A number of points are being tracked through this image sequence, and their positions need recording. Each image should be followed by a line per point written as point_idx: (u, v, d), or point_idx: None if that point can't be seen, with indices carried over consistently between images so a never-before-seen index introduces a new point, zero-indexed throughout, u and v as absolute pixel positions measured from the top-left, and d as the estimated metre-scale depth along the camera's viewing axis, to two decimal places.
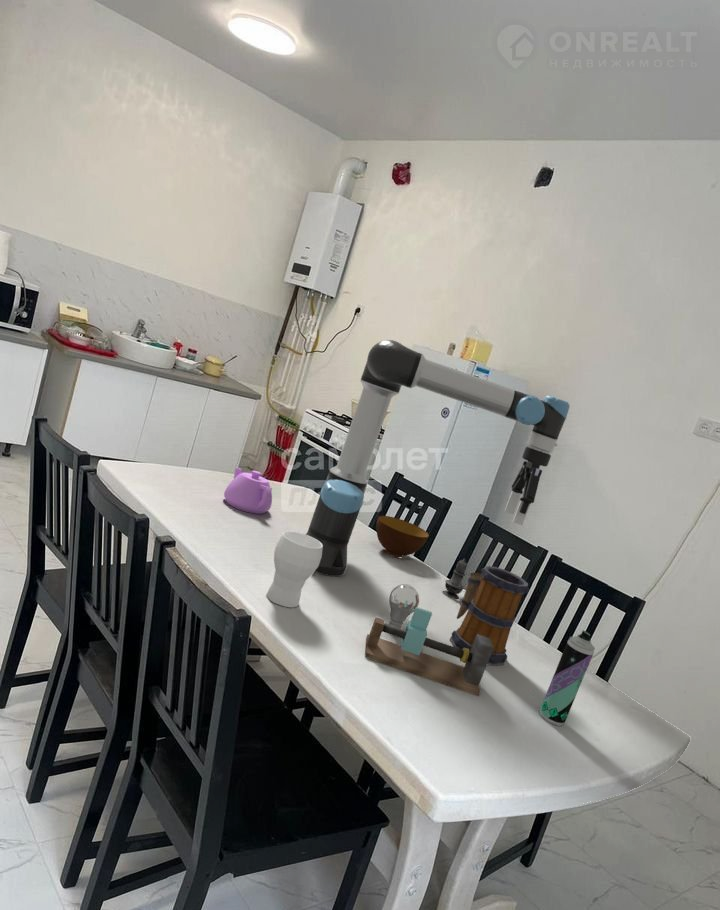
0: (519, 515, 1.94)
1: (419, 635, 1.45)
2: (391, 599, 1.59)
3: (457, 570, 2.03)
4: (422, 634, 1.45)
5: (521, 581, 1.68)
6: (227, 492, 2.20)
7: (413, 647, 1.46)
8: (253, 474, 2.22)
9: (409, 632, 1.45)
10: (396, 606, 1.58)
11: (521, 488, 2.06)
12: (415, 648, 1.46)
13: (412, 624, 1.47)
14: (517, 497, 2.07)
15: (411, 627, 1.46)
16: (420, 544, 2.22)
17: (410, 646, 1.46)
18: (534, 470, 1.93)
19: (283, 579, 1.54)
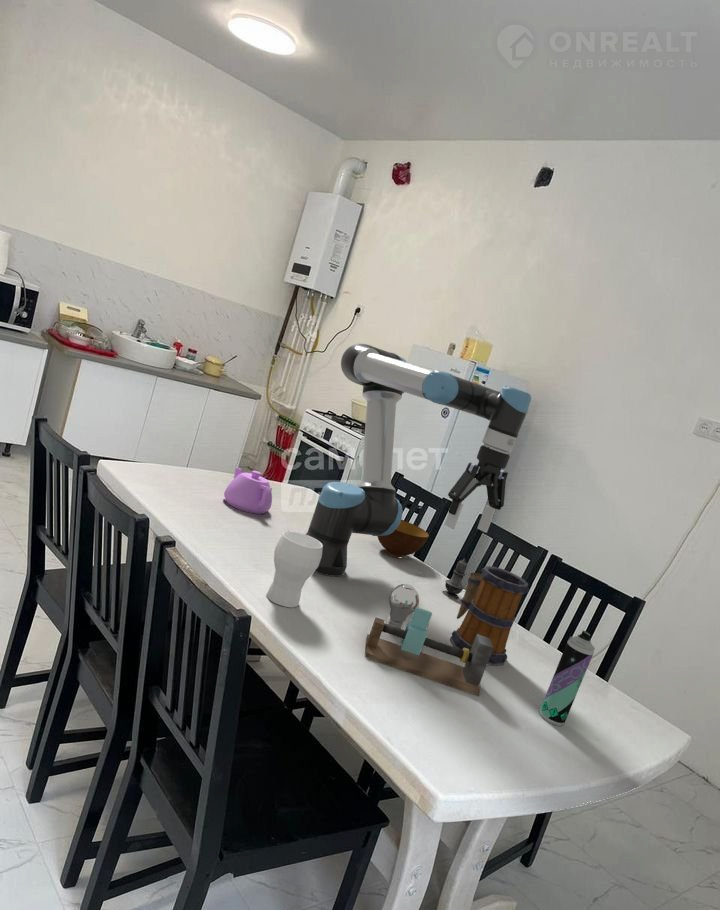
0: (450, 517, 1.68)
1: (419, 635, 1.45)
2: (391, 599, 1.59)
3: (457, 570, 2.03)
4: (422, 634, 1.45)
5: (521, 581, 1.68)
6: (227, 492, 2.20)
7: (413, 647, 1.46)
8: (253, 474, 2.22)
9: (409, 632, 1.45)
10: (396, 606, 1.58)
11: (493, 501, 1.75)
12: (415, 648, 1.46)
13: (412, 624, 1.47)
14: (490, 512, 1.76)
15: (411, 627, 1.46)
16: (420, 544, 2.22)
17: (410, 646, 1.46)
18: (468, 465, 1.66)
19: (283, 579, 1.54)
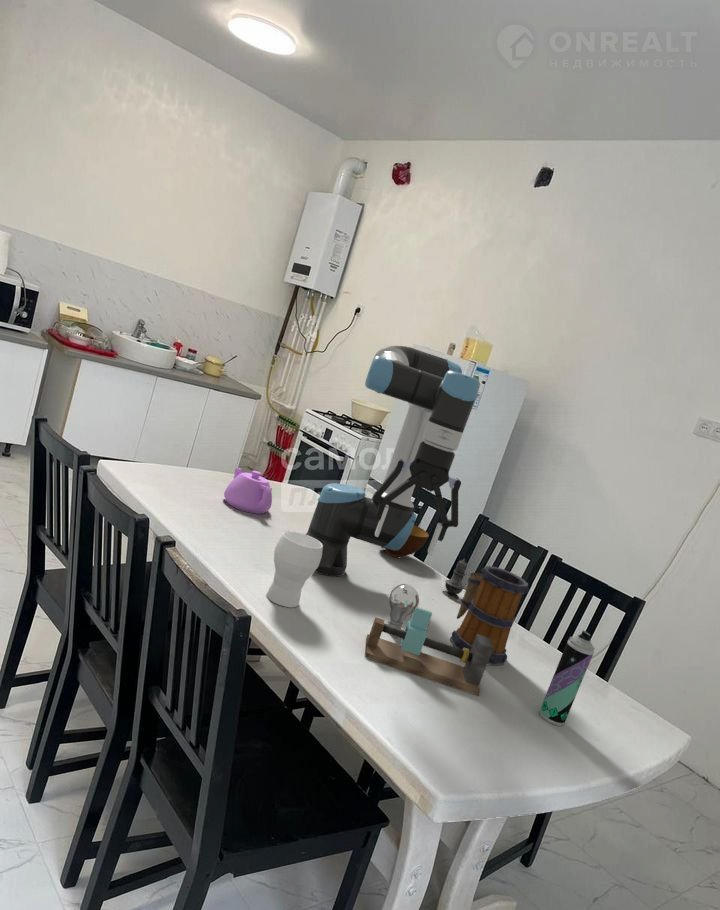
0: (378, 523, 1.45)
1: (419, 635, 1.45)
2: (391, 599, 1.59)
3: (457, 570, 2.03)
4: (422, 634, 1.45)
5: (521, 581, 1.68)
6: (227, 492, 2.20)
7: (413, 647, 1.46)
8: (253, 474, 2.22)
9: (409, 632, 1.45)
10: (396, 606, 1.58)
11: (440, 515, 1.43)
12: (415, 648, 1.46)
13: (412, 624, 1.47)
14: (436, 530, 1.44)
15: (411, 627, 1.46)
16: (420, 544, 2.22)
17: (410, 646, 1.46)
18: (397, 461, 1.44)
19: (283, 579, 1.54)
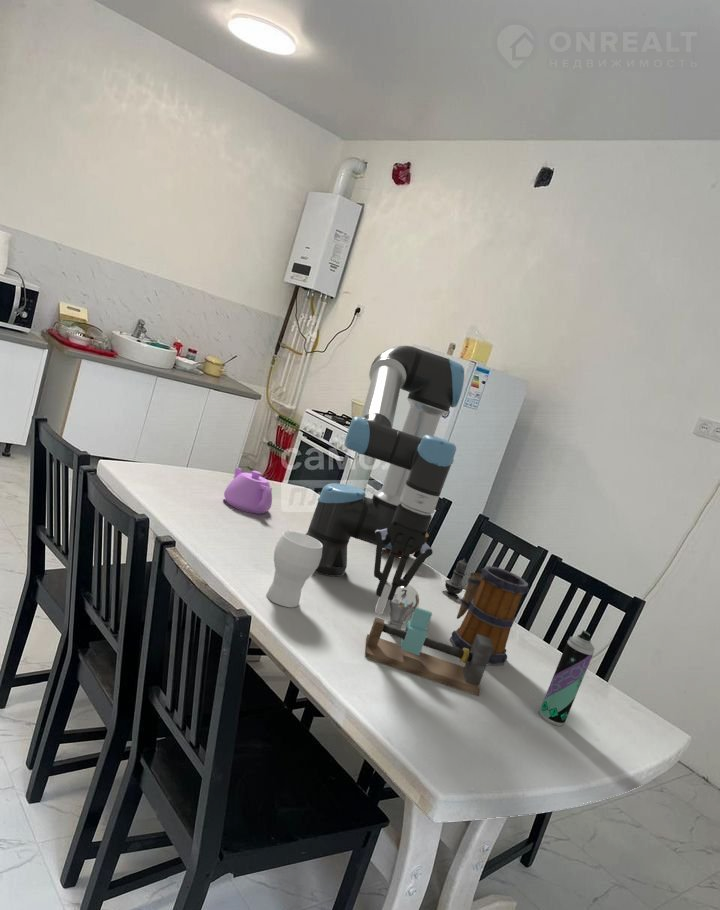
0: (378, 599, 1.47)
1: (419, 635, 1.45)
2: None
3: (457, 570, 2.03)
4: (422, 634, 1.45)
5: (521, 581, 1.68)
6: (227, 492, 2.20)
7: (413, 647, 1.46)
8: (253, 474, 2.22)
9: (409, 632, 1.45)
10: (396, 606, 1.58)
11: (395, 574, 1.45)
12: (415, 648, 1.46)
13: (412, 624, 1.47)
14: None
15: (411, 627, 1.46)
16: None
17: (410, 646, 1.46)
18: None
19: (283, 579, 1.54)
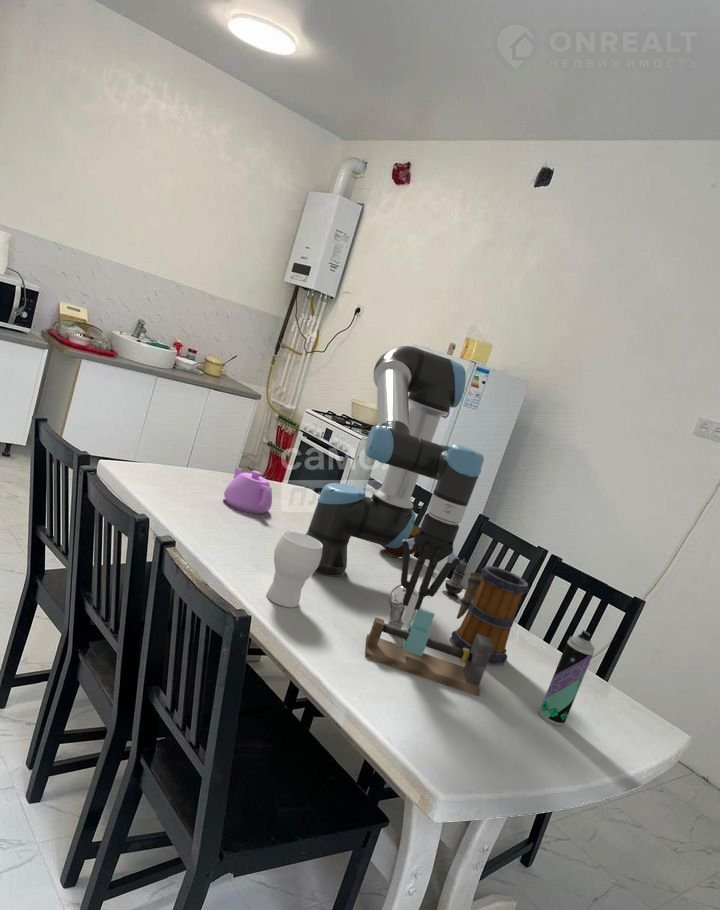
0: (405, 608, 1.47)
1: (421, 636, 1.45)
2: (391, 599, 1.59)
3: (457, 570, 2.03)
4: (425, 635, 1.45)
5: (521, 581, 1.68)
6: (227, 492, 2.20)
7: (416, 648, 1.46)
8: (253, 474, 2.22)
9: (411, 633, 1.45)
10: (396, 606, 1.58)
11: (422, 583, 1.45)
12: (417, 649, 1.46)
13: (414, 625, 1.47)
14: None
15: (413, 628, 1.46)
16: None
17: (412, 647, 1.46)
18: None
19: (283, 579, 1.54)
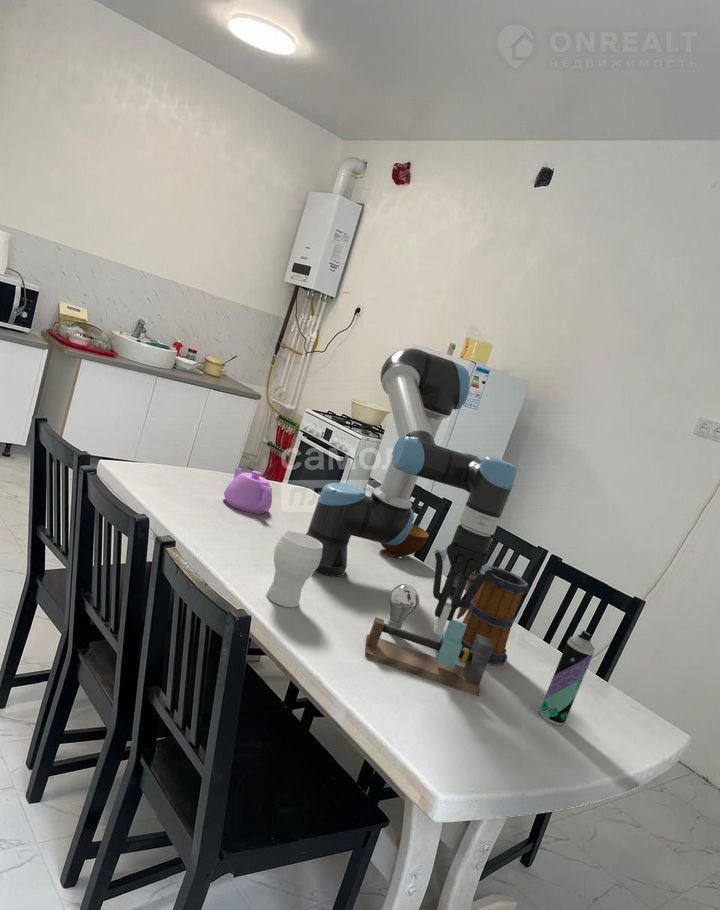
0: (437, 620, 1.47)
1: (454, 647, 1.45)
2: (391, 599, 1.59)
3: None
4: (458, 646, 1.45)
5: (521, 581, 1.68)
6: (227, 492, 2.20)
7: (448, 659, 1.46)
8: (253, 474, 2.22)
9: (444, 644, 1.45)
10: (396, 606, 1.58)
11: (455, 594, 1.45)
12: (450, 660, 1.46)
13: (447, 636, 1.47)
14: None
15: (446, 639, 1.46)
16: (420, 544, 2.22)
17: (445, 658, 1.46)
18: None
19: (283, 579, 1.54)
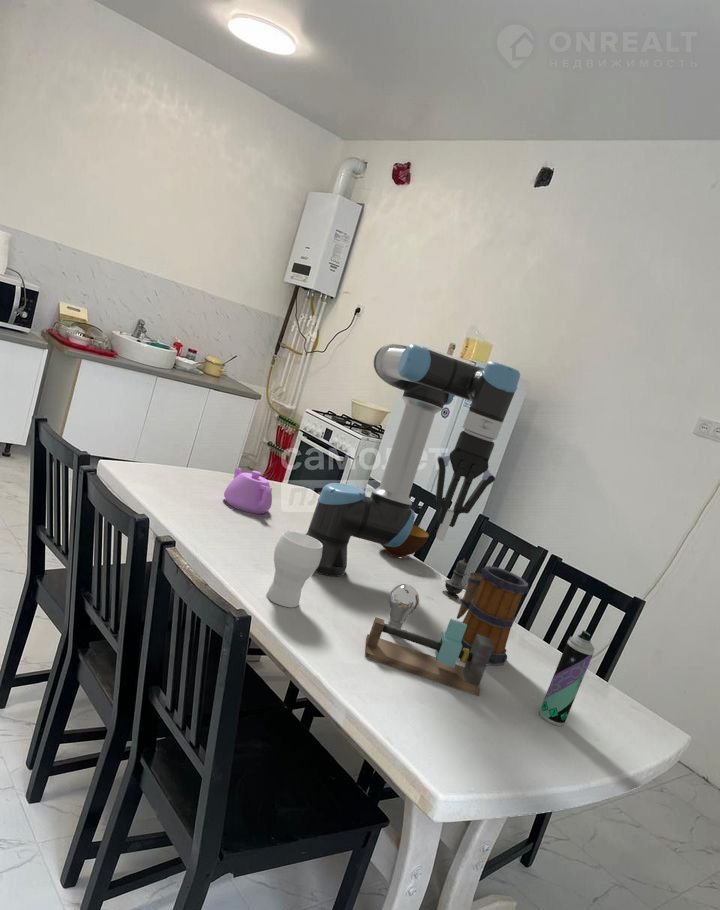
0: (440, 526, 1.49)
1: (454, 647, 1.45)
2: (391, 599, 1.59)
3: (457, 570, 2.03)
4: (458, 646, 1.45)
5: (521, 581, 1.68)
6: (227, 492, 2.20)
7: (449, 659, 1.46)
8: (253, 474, 2.22)
9: (444, 644, 1.45)
10: (396, 606, 1.58)
11: (457, 500, 1.47)
12: (450, 660, 1.46)
13: (447, 636, 1.47)
14: None
15: (446, 639, 1.46)
16: (420, 544, 2.22)
17: (445, 658, 1.46)
18: None
19: (283, 579, 1.54)
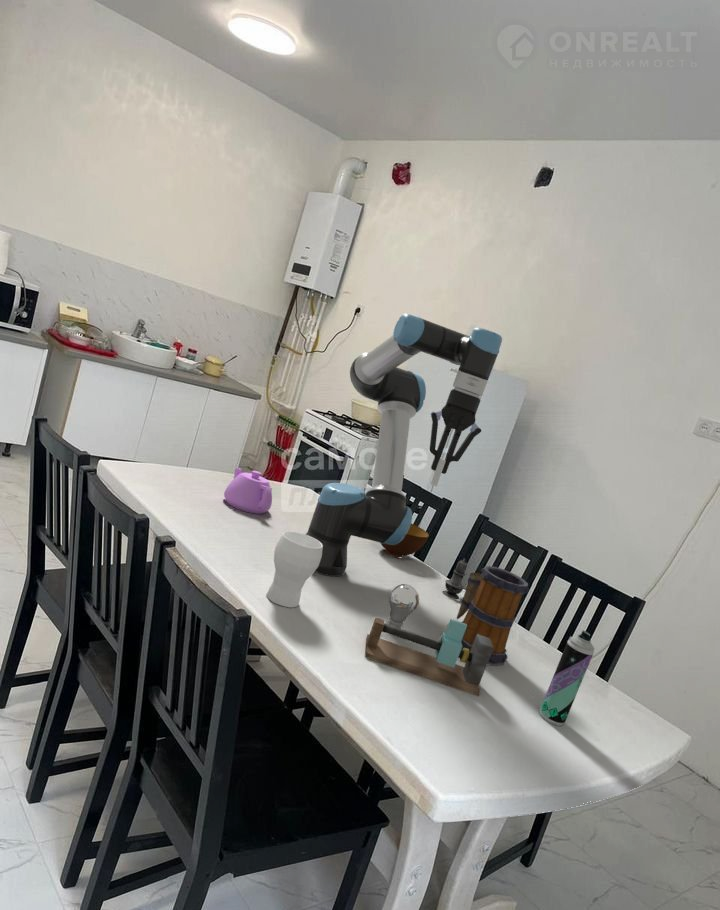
0: (433, 474, 1.70)
1: (454, 647, 1.45)
2: (391, 599, 1.59)
3: (457, 570, 2.03)
4: (458, 646, 1.45)
5: (521, 581, 1.68)
6: (227, 492, 2.20)
7: (449, 659, 1.46)
8: (253, 474, 2.22)
9: (444, 644, 1.45)
10: (396, 606, 1.58)
11: (449, 450, 1.67)
12: (450, 660, 1.46)
13: (447, 636, 1.47)
14: None
15: (446, 639, 1.46)
16: (420, 544, 2.22)
17: (445, 658, 1.46)
18: None
19: (283, 579, 1.54)
